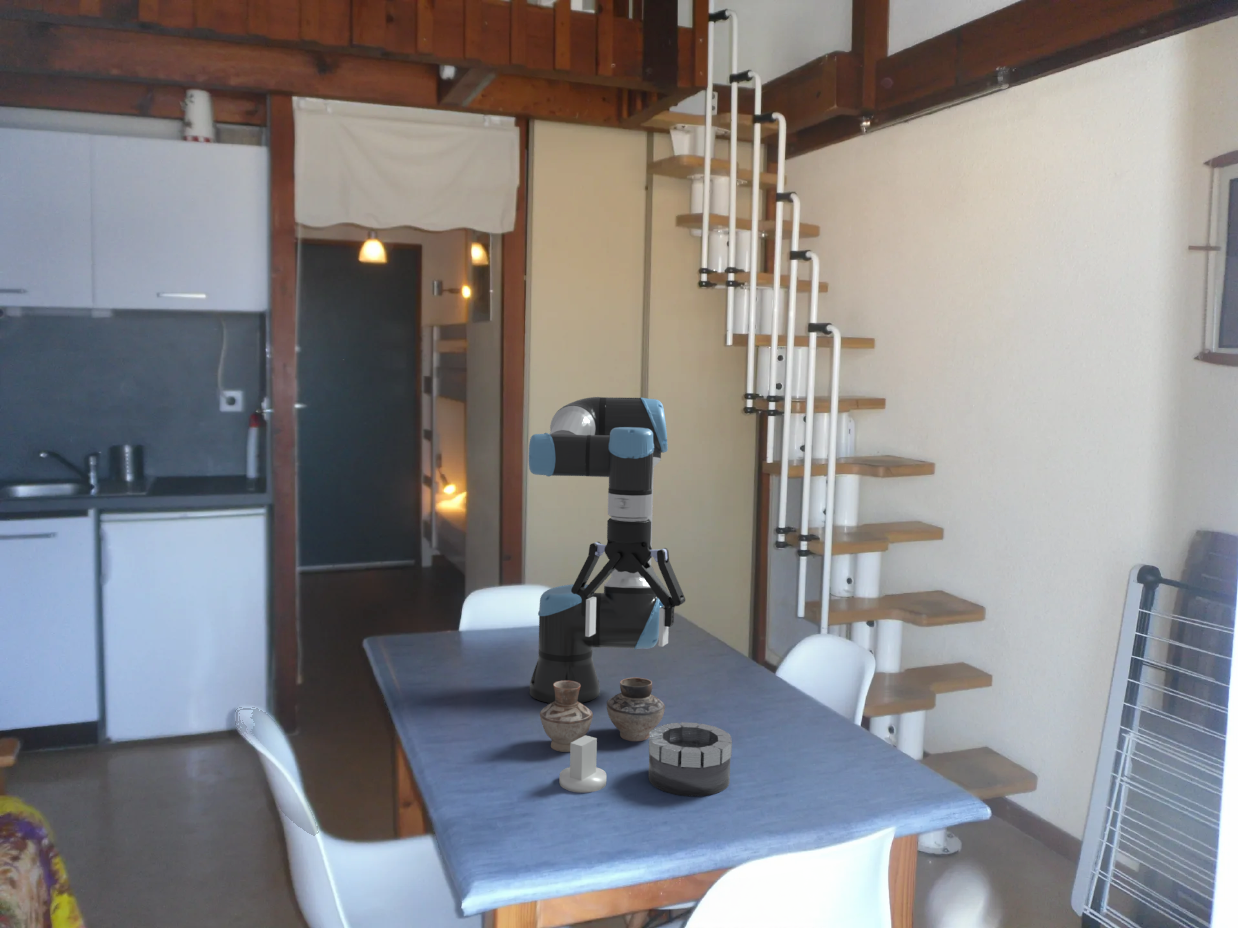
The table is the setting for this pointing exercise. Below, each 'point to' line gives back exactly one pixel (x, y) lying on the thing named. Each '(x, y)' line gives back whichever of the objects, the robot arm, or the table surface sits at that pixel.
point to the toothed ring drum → (689, 759)
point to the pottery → (626, 710)
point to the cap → (583, 768)
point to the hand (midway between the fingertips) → (626, 639)
